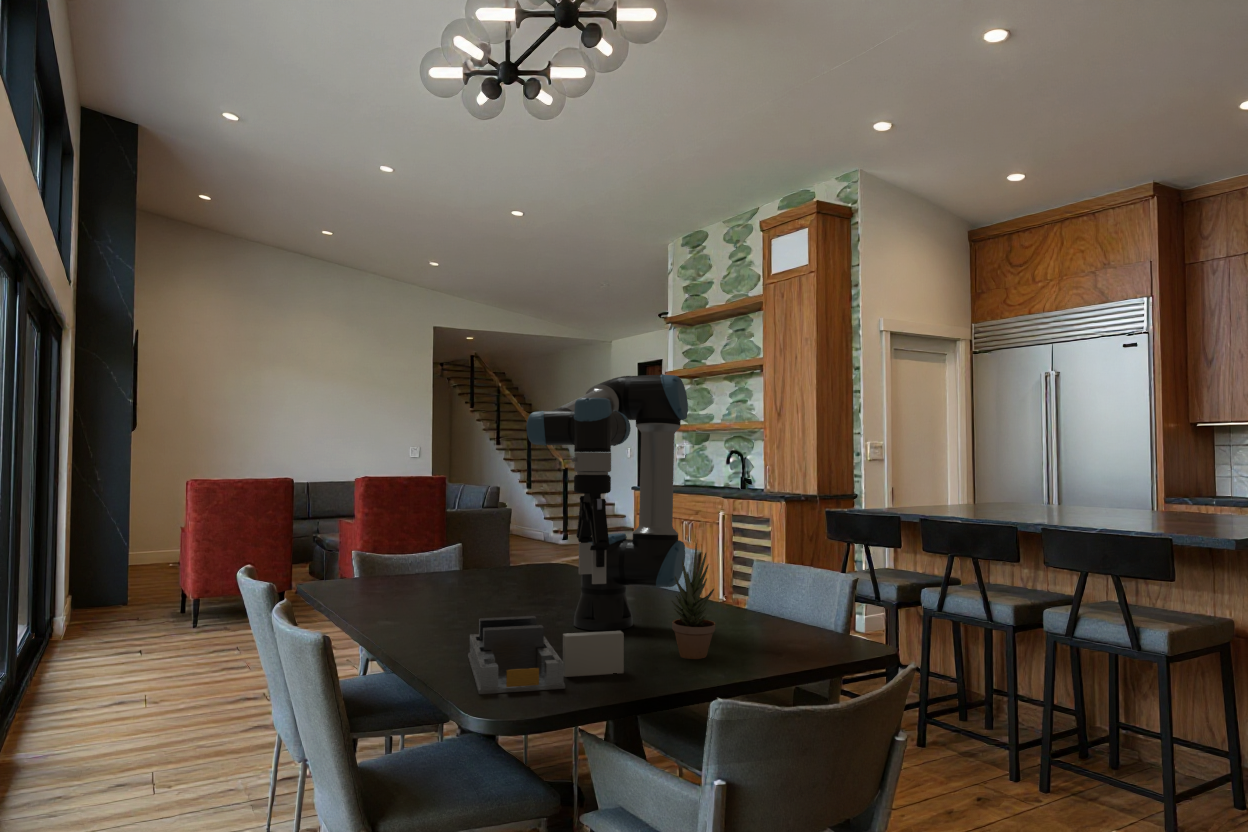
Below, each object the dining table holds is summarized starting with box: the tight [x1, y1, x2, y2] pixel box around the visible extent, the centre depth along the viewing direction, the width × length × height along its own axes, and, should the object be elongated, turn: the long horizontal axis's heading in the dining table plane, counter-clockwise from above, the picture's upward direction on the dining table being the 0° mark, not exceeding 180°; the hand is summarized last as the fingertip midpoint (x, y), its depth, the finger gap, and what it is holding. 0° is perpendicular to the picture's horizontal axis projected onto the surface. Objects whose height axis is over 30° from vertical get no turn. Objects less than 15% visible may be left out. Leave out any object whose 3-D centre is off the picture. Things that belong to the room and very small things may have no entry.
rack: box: [467, 615, 566, 695], centre depth 169 cm, size 29×16×9 cm, turn 14°
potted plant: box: [671, 542, 716, 660], centre depth 183 cm, size 10×10×25 cm
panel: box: [562, 630, 625, 678], centre depth 168 cm, size 3×12×8 cm, turn 105°
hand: (591, 578), depth 168 cm, fingers open, 13 cm apart
